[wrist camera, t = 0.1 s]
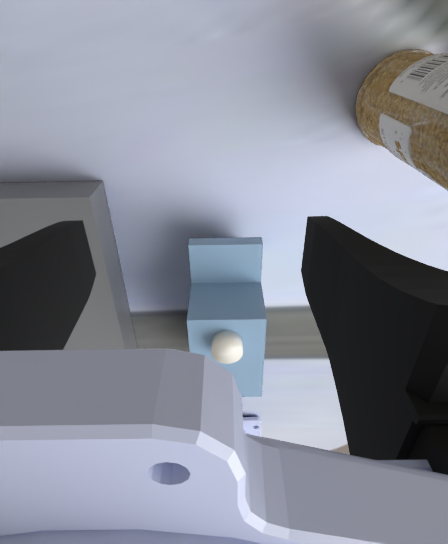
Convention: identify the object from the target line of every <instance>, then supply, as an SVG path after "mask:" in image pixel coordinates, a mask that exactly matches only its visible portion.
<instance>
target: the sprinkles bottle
mask: <svg viewBox="0 0 448 544" xmlns="http://www.w3.org/2000/svg"><path fill="white" fill-rule="evenodd" d="M356 115H357V122H358V126H359V128H360V130H361V131H362V133H363V134H364V136H365V137H366V138H367V139H369V140H370V141H371V142H373V143H374V144H376V145H381V146H383V147H385V148H386V149H388V150H389V151H390V152H391V153H392V154H393V155H394V156H396V157H397V158H399V159H400V160H402V161H404V162H405V163H407V164H408V165H410V166H412V167H413V168H415V169H416V170H418V171H419V172H421V173H422V174H424V175H425V176H427V177H428V178H430V179H431V180H433V181H434V182H436V183H437V184H439V185H440V186H442V187H443V188H445V189H446V190H448V53H441V54H432V53H430V52H428V51H424V50H419V49H417V50H405V51H401V52H397V53H394V54H392V55H391V56H389V57H387V58H386V59H384V60H382V61H381V62H380V63H378V64H377V65H376V67H375V68H374V69H373V70H372V71H371V72H370V73H369V75H368V76H367V77H366V79H365V81H364V82H363V84H362V86H361V88H360V90H359V92H358V95H357V100H356Z"/></svg>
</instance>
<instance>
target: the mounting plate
mask: <svg viewBox="0 0 448 544" xmlns="http://www.w3.org/2000/svg"><path fill="white" fill-rule="evenodd" d="M76 220H83V223H84V227H85V231H86V235H87V239H88V243H89V247H90V251H91V255H92V259H93V263H94V267H95V271H96V277H95V280H94V284H93V287H92V290H91V293H90V297H89V299H88V301H87V303H86V305H85V307H84V309H83V311H82V313H81V316H80V318H79V319H78V321H77V323H76V325H75V327H74V329H73V331H72V333H71V335H70V337H69V339H68V341H67V343H66V345H65V347H64V349H63V350H99V349H138V348H137V343H136V338H135V333H134V329H133V324H132V319H131V314H130V309H129V304H128V300H127V295H126V290H125V285H124V280H123V275H122V271H121V266H120V261H119V256H118V251H117V246H116V241H115V237H114V232H113V227H112V222H111V217H110V212H109V208H108V203H107V198H106V193H105V188H104V183H103V181H71V182H12V183H0V248H1V247H3V246H6V245H8V244H10V243H12V242H15V241H17V240H19V239H21V238H23V237H25V236H27V235H30V234H32V233H34V232H36V231H38V230H40V229H43V228H45V227H47V226H50V225H52V224H55V223H57V222H61V221H76Z"/></svg>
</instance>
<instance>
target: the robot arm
mask: <svg viewBox="0 0 448 544" xmlns="http://www.w3.org/2000/svg"><path fill="white" fill-rule="evenodd" d="M301 272H302V277H303V283H304V287H305V292H306V296H307V299H308V302H309V304H310V307H311V310H312V313H313V315H314V318H315V321H316V323H317V326H318V329H319V331H320V334H321V337H322V339H323V342H324V345H325V347H326V350H327V353H328V357H329V360H330V364H331V368H332V372H333V376H334V380H335V385H336V389H337V393H338V398H339V403H340V407H341V412H342V416H343V421H344V426H345V431H346V436H347V441H348V446H349V452H350V455H348V454H343V453H338V452H333V451H328V450H323V449H319V448H314V447H309V446H304V445H299V444H294V443H289V442H284V441H279V440H275V439H270V438H265V437H261V424H262V423H261V419H260V418H259V417H243V413H242V397H241V394H240V392H239V389H238V387H237V384H236V382H235V379H234V377H233V374H232V373H231V372H229V371H228V370H226V369H225V368H223V367H222V366H220V365H219V364H217V363H216V362H214V361H213V360H211V359H210V358H208V357H207V356H205V355H202V354H196V353H191V352H185V351H179V350H174V349H99V350H63V349H64V347H65V345H66V343H67V341H68V339H69V337H70V335H71V333H72V331H73V329H74V327H75V325H76V323H77V321H78V319H79V318H80V316H81V313H82V311H83V309H84V307H85V305H86V303H87V301H88V299H89V297H90V293H91V290H92V287H93V284H94V280H95V277H96V271H95V267H94V263H93V259H92V255H91V251H90V247H89V243H88V239H87V235H86V231H85V227H84V223H83V220H76V221H61V222H57V223H55V224H52V225H50V226H47V227H45V228H43V229H40V230H38V231H36V232H34V233H32V234H30V235H27V236H25V237H23V238H21V239H19V240H17V241H15V242H12V243H10V244H8V245H6V246H3V247H1V248H0V544H448V271H444V270H441V269H438V268H435V267H432V266H429V265H426V264H423V263H421V262H418V261H415V260H413V259H410V258H408V257H405V256H403V255H401V254H398V253H396V252H394V251H392V250H390V249H388V248H386V247H384V246H382V245H380V244H378V243H376V242H374V241H372V240H370V239H368V238H366V237H365V236H363V235H361V234H359V233H358V232H356V231H354V230H352V229H351V228H349V227H347V226H345V225H344V224H342V223H340V222H338V221H336V220H335V219H333V218H330V217H328V216H313V217H308V218H307V227H306V235H305V243H304V252H303V260H302V268H301Z"/></svg>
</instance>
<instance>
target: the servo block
mask: <svg viewBox="0 0 448 544" xmlns="http://www.w3.org/2000/svg"><path fill="white" fill-rule="evenodd" d="M188 249H189V261H190V273H191V290H190V298H189V306H188V314H187V329H188V339H189V349H190V352H191V353H196V354H202V355H205V356H207V357H208V358H210V359H211V360H213V361H214V362H216V363H217V364H219V365H220V366H222V367H223V368H225V369H226V370H228V371H229V372H231V373H232V374H233V377H234V379H235V382H236V384H237V387H238V389H239V392H240V394H241V397H257V396H262V383H263V367H264V352H265V336H266V320H267V319H266V312H265V306H264V299H263V293H262V286H261V270H262V250H263V243H262V238H261V237H250V238H189V244H188Z"/></svg>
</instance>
